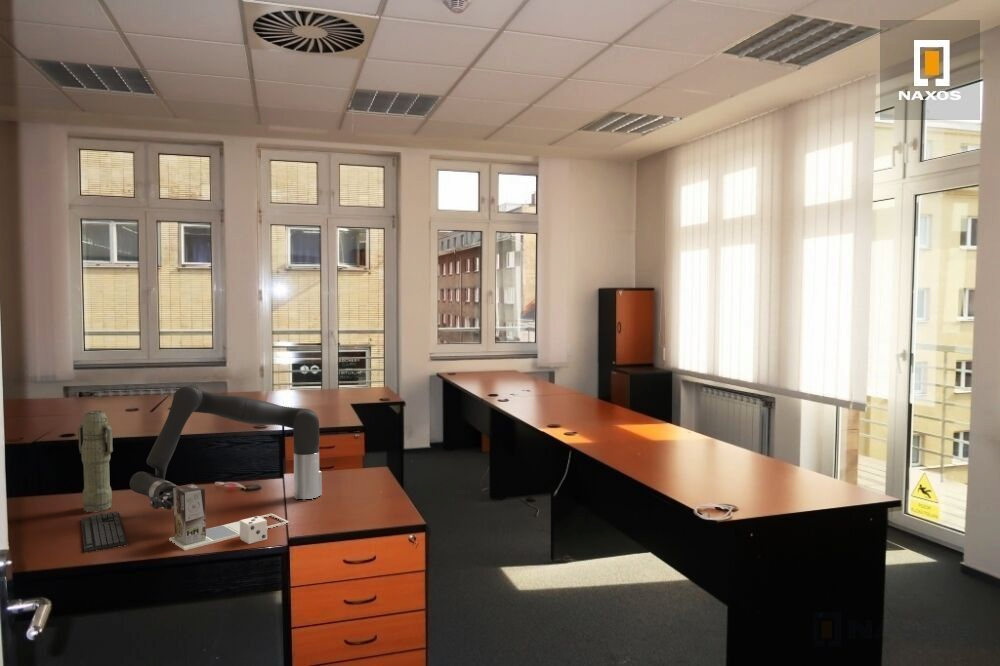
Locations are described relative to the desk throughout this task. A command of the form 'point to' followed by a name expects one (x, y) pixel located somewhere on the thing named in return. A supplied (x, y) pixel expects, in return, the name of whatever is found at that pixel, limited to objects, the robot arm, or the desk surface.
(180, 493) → the coffee box
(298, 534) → the desk surface
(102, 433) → the khaki stone statue
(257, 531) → the die
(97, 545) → the keyboard
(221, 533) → the board
